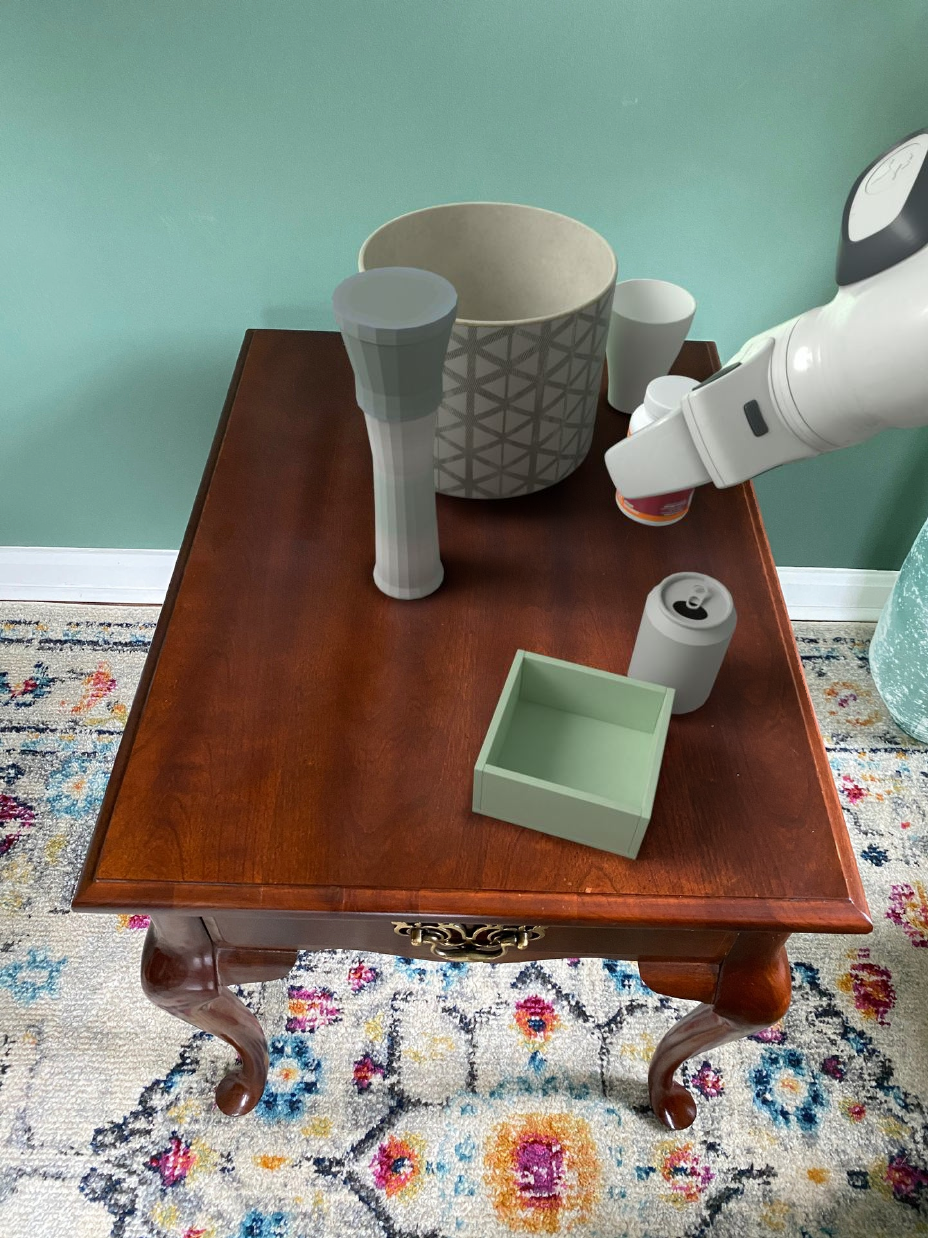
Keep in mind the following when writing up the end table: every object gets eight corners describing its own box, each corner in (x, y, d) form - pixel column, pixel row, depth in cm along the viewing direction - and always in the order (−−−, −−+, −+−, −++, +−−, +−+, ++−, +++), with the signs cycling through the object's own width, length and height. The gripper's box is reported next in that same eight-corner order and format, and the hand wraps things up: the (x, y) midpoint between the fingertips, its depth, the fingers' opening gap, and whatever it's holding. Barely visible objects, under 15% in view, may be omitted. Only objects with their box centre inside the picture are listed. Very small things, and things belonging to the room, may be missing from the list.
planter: (612, 422, 105) (646, 226, 87) (548, 552, 90) (573, 347, 72) (426, 376, 111) (422, 185, 93) (336, 491, 96) (310, 288, 78)
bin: (660, 734, 75) (676, 689, 70) (635, 860, 67) (650, 819, 62) (513, 695, 77) (518, 648, 72) (472, 811, 70) (474, 768, 65)
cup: (587, 375, 112) (602, 276, 102) (668, 379, 112) (690, 279, 102) (592, 423, 105) (608, 322, 95) (678, 426, 105) (703, 325, 95)
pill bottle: (600, 493, 73) (620, 379, 65) (659, 473, 75) (686, 361, 67) (642, 538, 69) (668, 423, 61) (703, 516, 71) (737, 402, 63)
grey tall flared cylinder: (472, 564, 88) (481, 287, 66) (421, 622, 83) (411, 342, 61) (397, 530, 92) (380, 255, 69) (342, 584, 86) (305, 305, 64)
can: (613, 699, 77) (636, 610, 68) (642, 643, 82) (666, 552, 73) (693, 732, 75) (727, 645, 66) (718, 673, 79) (753, 583, 70)
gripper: (872, 296, 60) (727, 361, 72) (676, 400, 51) (549, 454, 63) (904, 381, 61) (755, 430, 73) (717, 497, 52) (584, 531, 64)
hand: (658, 442), depth 68 cm, fingers closed on pill bottle, 6 cm apart
